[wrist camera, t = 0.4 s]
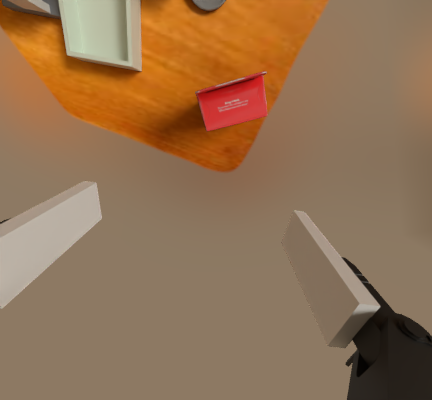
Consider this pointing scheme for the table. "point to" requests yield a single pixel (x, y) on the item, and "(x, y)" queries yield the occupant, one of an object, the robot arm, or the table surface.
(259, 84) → the ink box
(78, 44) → the parts tray
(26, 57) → the table surface
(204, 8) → the pocket watch
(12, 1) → the fuse board
